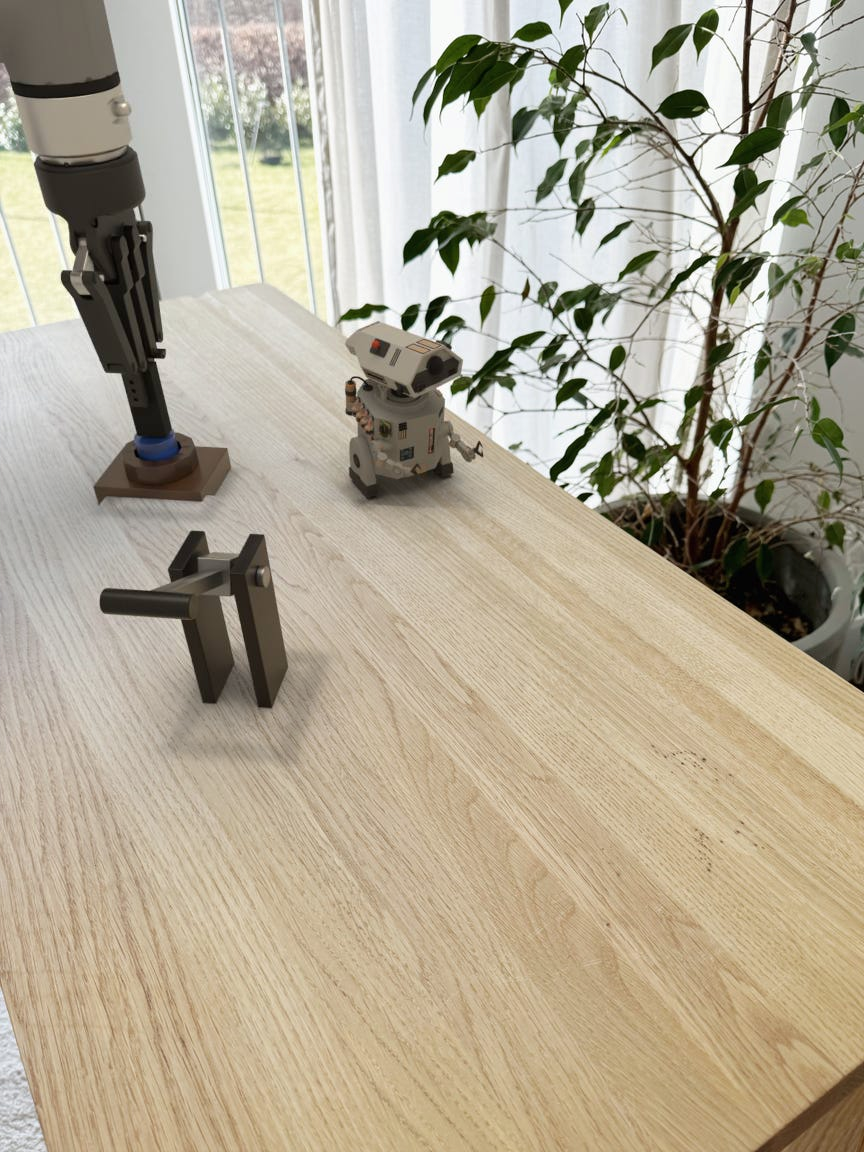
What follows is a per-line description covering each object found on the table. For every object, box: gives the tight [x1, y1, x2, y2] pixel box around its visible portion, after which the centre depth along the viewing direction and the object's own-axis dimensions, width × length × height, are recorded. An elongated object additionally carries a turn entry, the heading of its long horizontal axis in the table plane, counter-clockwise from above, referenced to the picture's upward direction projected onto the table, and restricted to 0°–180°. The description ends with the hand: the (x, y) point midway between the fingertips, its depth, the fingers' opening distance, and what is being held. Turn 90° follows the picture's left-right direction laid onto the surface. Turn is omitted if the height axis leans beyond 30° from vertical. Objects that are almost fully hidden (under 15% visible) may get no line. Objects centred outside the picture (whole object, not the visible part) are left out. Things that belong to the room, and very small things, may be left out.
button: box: [133, 428, 179, 461], centre depth 91 cm, size 4×4×2 cm
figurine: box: [344, 320, 484, 499], centre depth 89 cm, size 9×12×15 cm
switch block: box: [93, 431, 232, 506], centre depth 93 cm, size 10×8×4 cm
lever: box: [99, 551, 240, 620], centre depth 60 cm, size 13×5×2 cm, turn 173°
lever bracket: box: [167, 529, 289, 709], centre depth 68 cm, size 10×8×13 cm
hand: (154, 432), depth 90 cm, fingers closed
